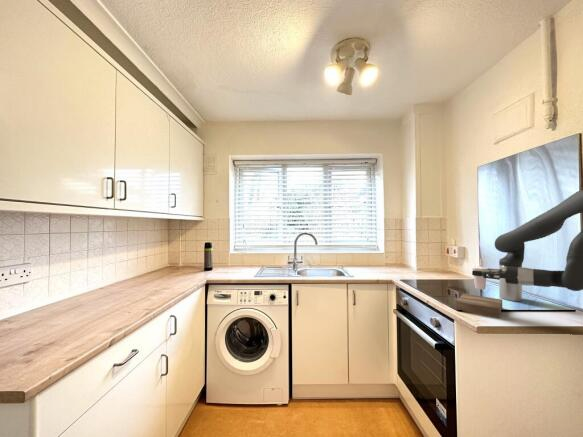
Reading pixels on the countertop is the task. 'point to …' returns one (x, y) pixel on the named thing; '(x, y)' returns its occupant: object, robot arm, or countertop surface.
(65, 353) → the countertop surface
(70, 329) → the countertop surface
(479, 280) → the smoothie
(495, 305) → the plinth
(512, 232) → the robot arm
